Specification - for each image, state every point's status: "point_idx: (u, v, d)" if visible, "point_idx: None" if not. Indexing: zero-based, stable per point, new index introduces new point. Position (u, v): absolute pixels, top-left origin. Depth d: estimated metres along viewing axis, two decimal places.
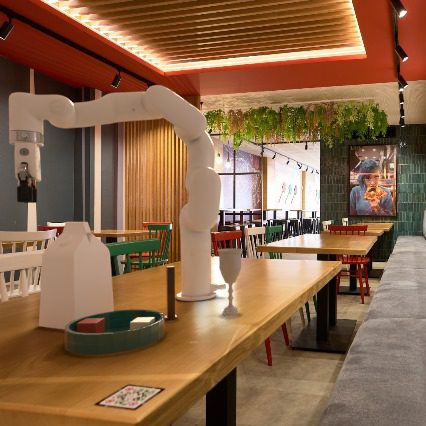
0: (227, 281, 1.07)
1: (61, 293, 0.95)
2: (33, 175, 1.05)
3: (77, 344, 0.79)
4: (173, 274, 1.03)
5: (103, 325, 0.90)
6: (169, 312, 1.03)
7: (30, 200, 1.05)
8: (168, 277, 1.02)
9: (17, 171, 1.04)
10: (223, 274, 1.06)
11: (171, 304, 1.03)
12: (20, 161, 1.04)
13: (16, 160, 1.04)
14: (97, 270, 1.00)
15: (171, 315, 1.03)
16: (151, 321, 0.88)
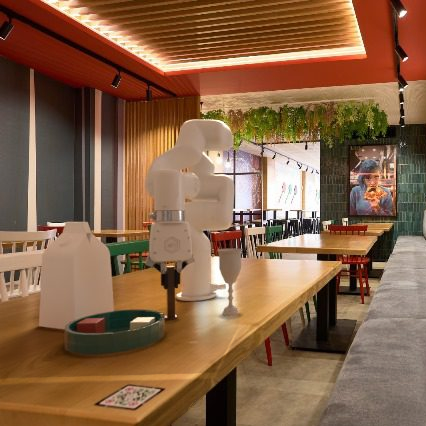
0: (227, 281, 1.07)
1: (61, 293, 0.95)
2: (150, 257, 0.99)
3: (77, 344, 0.79)
4: (173, 274, 1.03)
5: (103, 325, 0.90)
6: (169, 312, 1.03)
7: (165, 287, 1.02)
8: (168, 277, 1.02)
9: None
10: (223, 274, 1.06)
11: (171, 304, 1.03)
12: (149, 242, 1.02)
13: None
14: (97, 270, 1.00)
15: (171, 315, 1.03)
16: (151, 321, 0.88)
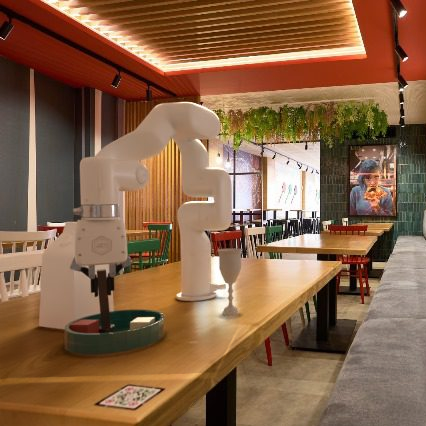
0: (227, 281, 1.07)
1: (61, 293, 0.95)
2: (75, 260, 0.85)
3: (77, 344, 0.79)
4: (105, 279, 0.89)
5: (98, 327, 0.88)
6: (103, 322, 0.89)
7: None
8: (99, 283, 0.88)
9: None
10: (223, 274, 1.06)
11: (105, 313, 0.89)
12: None
13: None
14: None
15: (106, 326, 0.89)
16: (151, 321, 0.88)
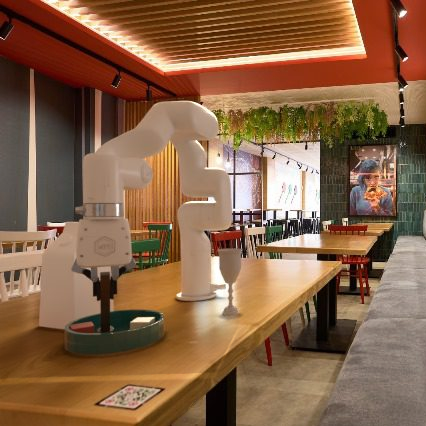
0: (227, 281, 1.07)
1: (61, 293, 0.95)
2: (76, 262, 0.80)
3: (77, 344, 0.79)
4: (108, 283, 0.83)
5: None
6: (102, 326, 0.85)
7: None
8: (101, 287, 0.83)
9: None
10: (223, 274, 1.06)
11: (105, 317, 0.85)
12: None
13: None
14: None
15: (105, 329, 0.85)
16: (151, 321, 0.88)
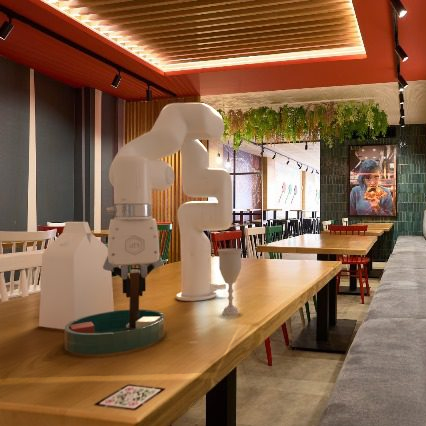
0: (227, 281, 1.07)
1: (61, 293, 0.95)
2: (108, 260, 0.84)
3: (77, 344, 0.79)
4: (137, 281, 0.87)
5: None
6: (131, 322, 0.88)
7: (126, 295, 0.86)
8: (131, 284, 0.86)
9: None
10: (223, 274, 1.06)
11: (134, 313, 0.88)
12: None
13: None
14: (97, 270, 1.00)
15: (134, 325, 0.89)
16: (156, 320, 0.89)
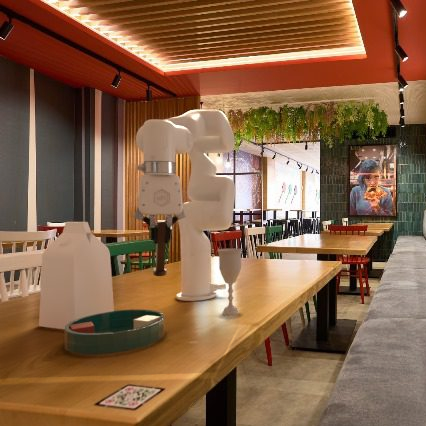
0: (227, 281, 1.07)
1: (61, 293, 0.95)
2: (139, 210, 0.96)
3: (77, 344, 0.79)
4: (164, 229, 0.99)
5: None
6: (158, 266, 1.01)
7: (154, 242, 0.99)
8: (158, 232, 0.99)
9: None
10: (223, 274, 1.06)
11: (161, 259, 1.01)
12: (138, 195, 0.98)
13: None
14: (97, 270, 1.00)
15: (160, 269, 1.01)
16: (153, 320, 0.89)
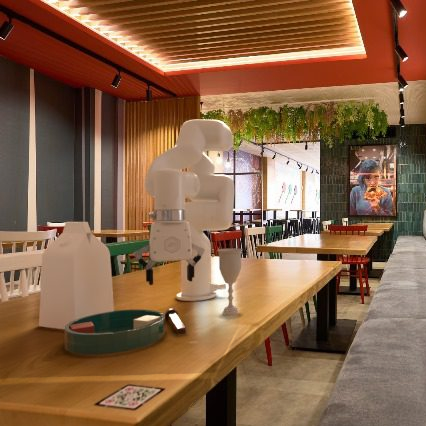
0: (227, 281, 1.07)
1: (61, 293, 0.95)
2: (150, 257, 0.99)
3: (77, 344, 0.79)
4: None
5: None
6: None
7: (149, 283, 1.00)
8: None
9: None
10: (223, 274, 1.06)
11: None
12: (149, 242, 1.02)
13: None
14: (97, 270, 1.00)
15: None
16: (153, 320, 0.89)
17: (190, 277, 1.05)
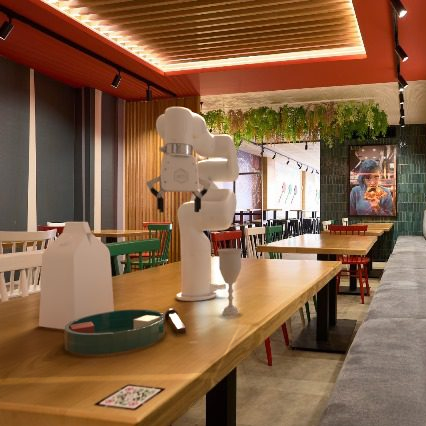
0: (227, 281, 1.07)
1: (60, 293, 0.95)
2: (161, 186, 1.09)
3: (77, 344, 0.79)
4: None
5: None
6: None
7: (160, 210, 1.10)
8: None
9: None
10: (223, 274, 1.06)
11: None
12: (160, 174, 1.11)
13: None
14: (97, 270, 1.00)
15: None
16: (153, 320, 0.89)
17: (197, 208, 1.14)
